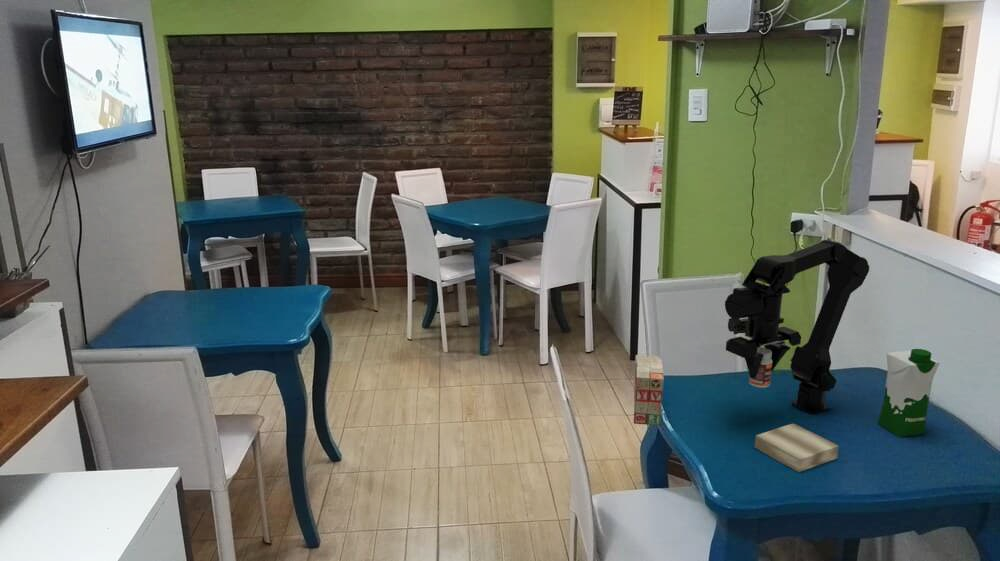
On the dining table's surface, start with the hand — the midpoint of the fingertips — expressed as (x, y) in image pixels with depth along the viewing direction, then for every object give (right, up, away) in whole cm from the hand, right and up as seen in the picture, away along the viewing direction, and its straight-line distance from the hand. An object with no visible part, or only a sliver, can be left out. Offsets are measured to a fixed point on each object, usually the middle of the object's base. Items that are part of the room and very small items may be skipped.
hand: (760, 375), depth 175 cm
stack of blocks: (-24, -9, +12) cm, 28 cm away
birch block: (+4, -15, -11) cm, 19 cm away
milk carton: (+33, -12, 0) cm, 35 cm away
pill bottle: (0, -2, +1) cm, 2 cm away
